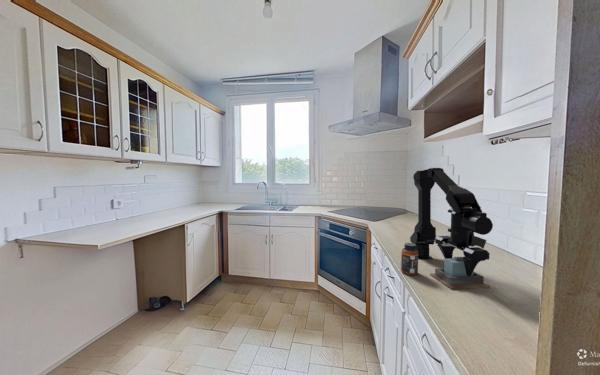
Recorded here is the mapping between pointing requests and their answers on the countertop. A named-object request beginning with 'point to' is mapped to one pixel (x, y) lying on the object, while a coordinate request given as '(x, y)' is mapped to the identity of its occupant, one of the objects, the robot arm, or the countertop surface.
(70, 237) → the countertop surface
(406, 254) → the supplement bottle
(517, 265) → the countertop surface
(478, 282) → the socket board
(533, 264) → the countertop surface
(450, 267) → the cabinet block
